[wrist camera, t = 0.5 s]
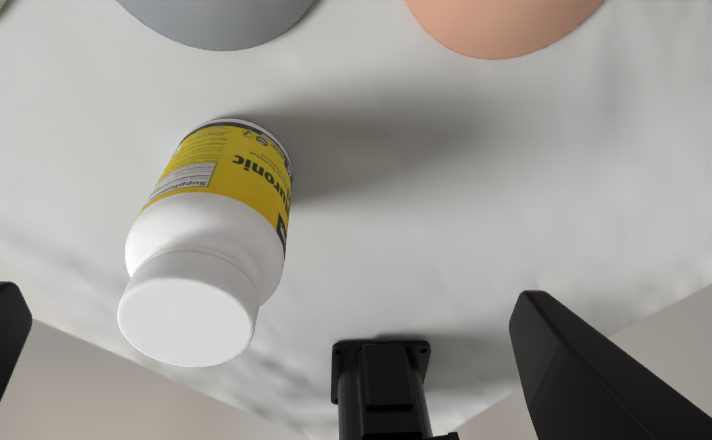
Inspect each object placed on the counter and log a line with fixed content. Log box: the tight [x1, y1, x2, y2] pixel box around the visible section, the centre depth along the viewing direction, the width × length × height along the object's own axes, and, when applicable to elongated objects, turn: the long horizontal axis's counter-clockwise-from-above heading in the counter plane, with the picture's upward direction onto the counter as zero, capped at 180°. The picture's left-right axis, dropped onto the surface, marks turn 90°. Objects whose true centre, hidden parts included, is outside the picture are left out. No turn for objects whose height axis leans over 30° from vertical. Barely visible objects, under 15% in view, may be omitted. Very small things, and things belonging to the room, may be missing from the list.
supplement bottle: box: [117, 119, 292, 367], centre depth 17 cm, size 5×5×10 cm
